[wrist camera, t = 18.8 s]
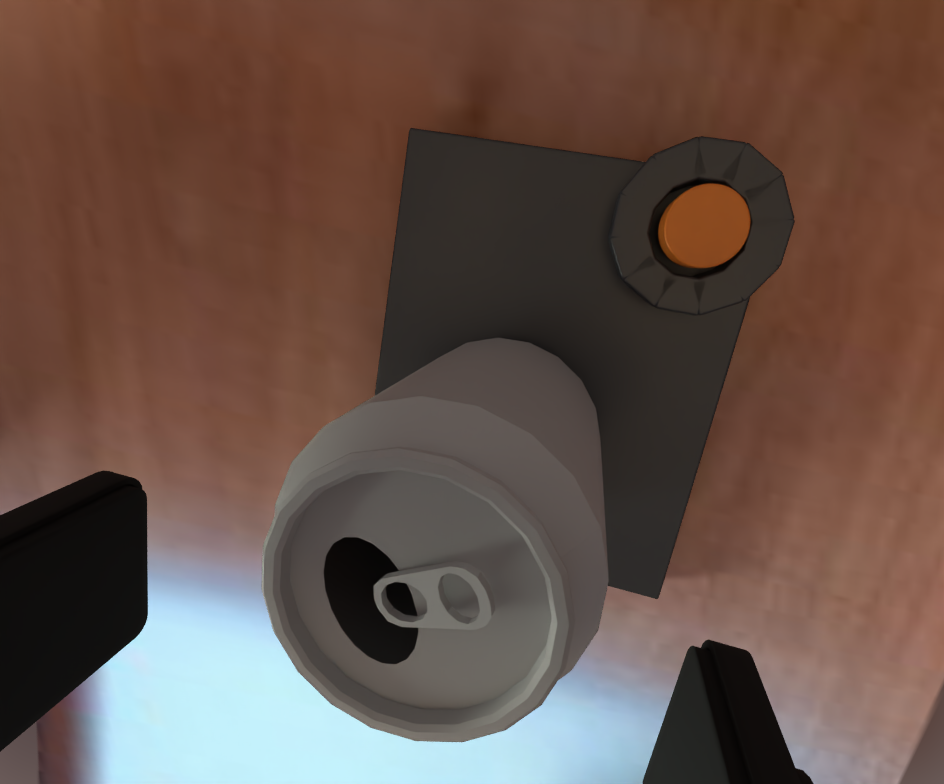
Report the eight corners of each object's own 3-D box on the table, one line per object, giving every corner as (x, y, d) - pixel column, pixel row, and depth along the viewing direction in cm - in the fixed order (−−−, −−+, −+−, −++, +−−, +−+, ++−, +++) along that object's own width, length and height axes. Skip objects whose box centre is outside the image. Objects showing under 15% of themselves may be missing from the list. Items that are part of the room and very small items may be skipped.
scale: (423, 118, 21) (396, 94, 18) (782, 168, 19) (817, 150, 16) (370, 505, 25) (342, 535, 22) (658, 582, 23) (667, 626, 20)
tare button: (668, 184, 17) (676, 176, 16) (747, 196, 17) (762, 189, 15) (649, 261, 18) (654, 260, 16) (724, 274, 17) (737, 274, 16)
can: (387, 368, 22) (165, 478, 10) (565, 307, 20) (531, 363, 8) (448, 533, 23) (309, 796, 12) (624, 492, 21) (665, 761, 10)
